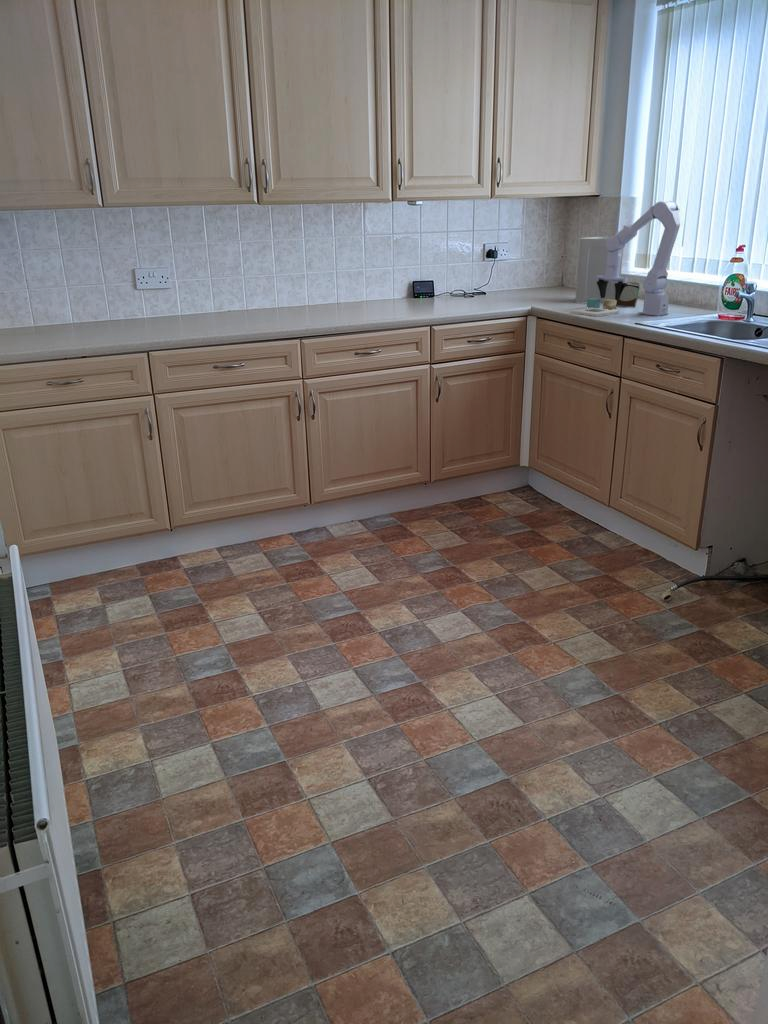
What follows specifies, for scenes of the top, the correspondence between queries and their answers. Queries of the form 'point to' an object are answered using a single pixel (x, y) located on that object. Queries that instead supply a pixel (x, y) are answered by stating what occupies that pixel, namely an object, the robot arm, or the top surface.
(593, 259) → the tall grey pillar
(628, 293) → the food container
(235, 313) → the top surface
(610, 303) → the birch brick
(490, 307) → the top surface
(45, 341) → the top surface
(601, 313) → the baseplate
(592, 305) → the teal brick
